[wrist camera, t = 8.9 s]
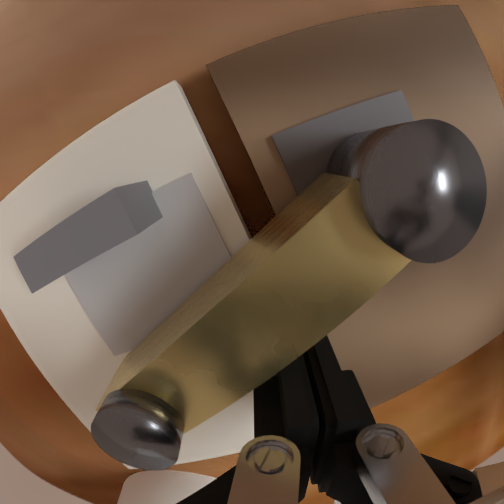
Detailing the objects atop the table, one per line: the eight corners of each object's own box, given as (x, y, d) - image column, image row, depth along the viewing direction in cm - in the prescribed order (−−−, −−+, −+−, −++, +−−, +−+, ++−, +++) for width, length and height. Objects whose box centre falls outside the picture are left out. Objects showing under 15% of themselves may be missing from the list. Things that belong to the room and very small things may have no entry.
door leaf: (-20, 231, 10) (-71, 252, 7) (181, 87, 9) (151, 55, 6) (133, 456, 14) (118, 502, 10) (329, 408, 13) (346, 465, 9)
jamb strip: (209, 74, 9) (204, 63, 8) (445, 12, 8) (460, 3, 7) (350, 399, 12) (357, 417, 11) (517, 303, 11) (531, 313, 10)
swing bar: (374, 112, 8) (448, 89, 4) (427, 185, 8) (511, 205, 5) (114, 355, 10) (71, 428, 6) (172, 402, 11) (151, 480, 7)
